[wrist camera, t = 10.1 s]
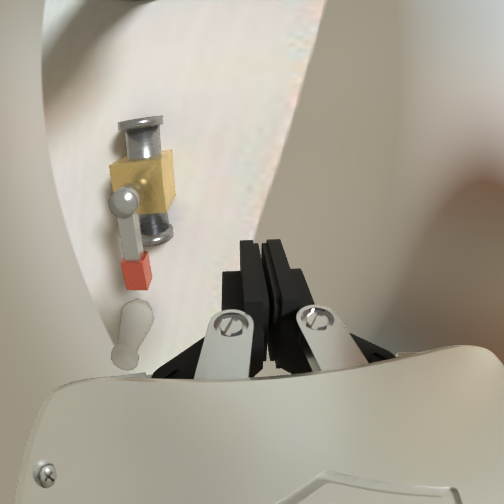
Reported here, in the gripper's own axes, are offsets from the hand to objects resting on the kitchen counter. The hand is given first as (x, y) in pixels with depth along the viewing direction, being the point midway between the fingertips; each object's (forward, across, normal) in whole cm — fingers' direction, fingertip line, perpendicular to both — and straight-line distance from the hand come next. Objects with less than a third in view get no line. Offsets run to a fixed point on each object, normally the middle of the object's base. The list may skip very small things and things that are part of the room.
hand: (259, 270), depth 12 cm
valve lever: (+18, +12, +6) cm, 23 cm away
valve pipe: (+27, +12, +2) cm, 30 cm away
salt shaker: (+27, +18, +25) cm, 41 cm away
